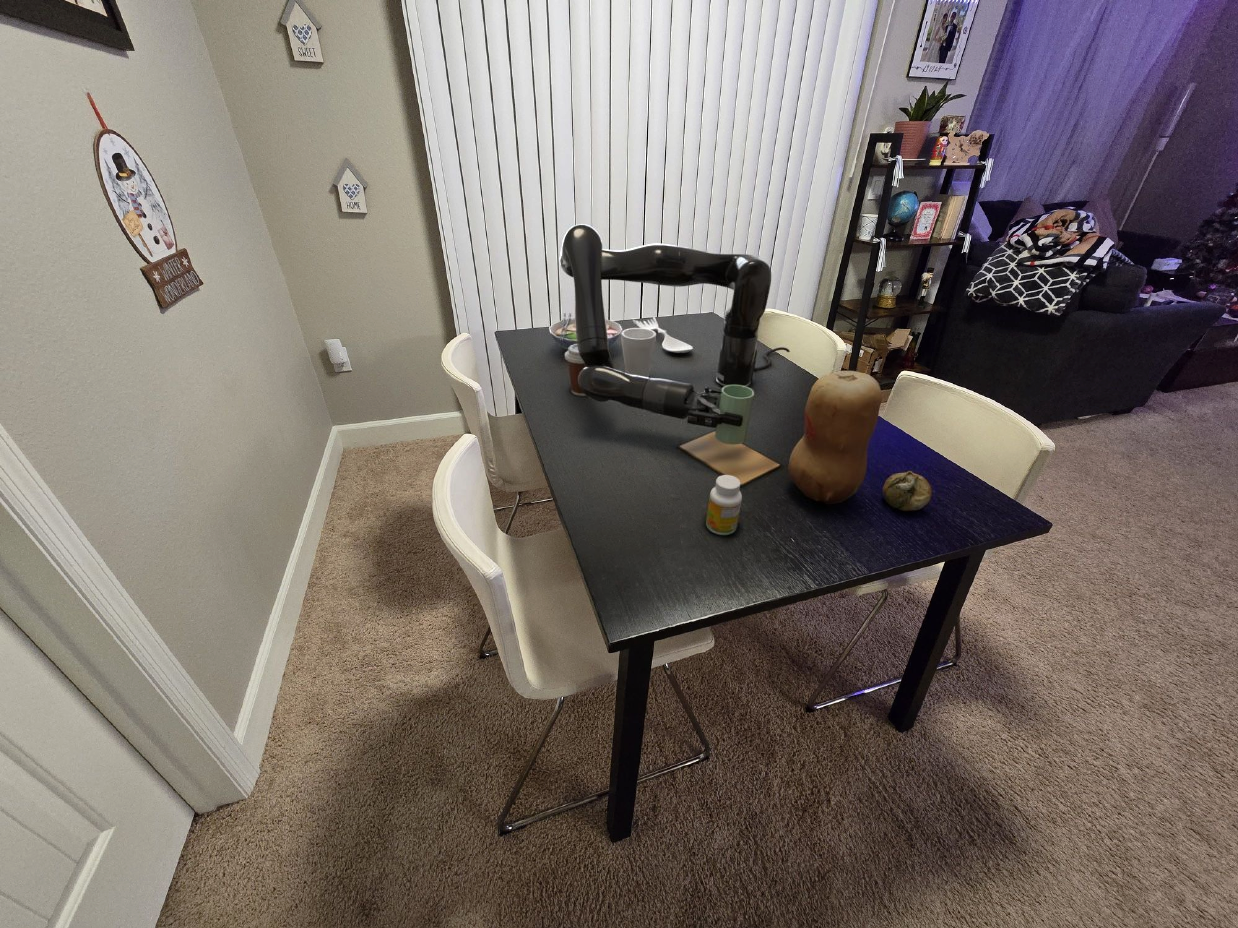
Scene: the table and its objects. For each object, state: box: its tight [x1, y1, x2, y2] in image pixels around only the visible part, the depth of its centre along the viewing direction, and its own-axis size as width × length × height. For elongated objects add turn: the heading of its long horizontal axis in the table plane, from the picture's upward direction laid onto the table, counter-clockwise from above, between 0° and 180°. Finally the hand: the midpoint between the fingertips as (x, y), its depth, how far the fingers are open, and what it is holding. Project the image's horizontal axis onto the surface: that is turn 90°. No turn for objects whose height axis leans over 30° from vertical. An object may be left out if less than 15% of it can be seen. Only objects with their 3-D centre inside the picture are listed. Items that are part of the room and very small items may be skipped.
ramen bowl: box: [548, 312, 623, 351], centre depth 157 cm, size 25×23×8 cm
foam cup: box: [620, 327, 657, 377], centre depth 139 cm, size 10×9×13 cm
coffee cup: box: [564, 344, 588, 397], centre depth 132 cm, size 9×9×12 cm
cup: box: [715, 385, 755, 445], centre depth 102 cm, size 6×6×10 cm
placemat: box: [678, 430, 781, 487], centre depth 108 cm, size 18×12×1 cm, turn 37°
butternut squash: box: [787, 370, 883, 505], centre depth 90 cm, size 14×13×25 cm
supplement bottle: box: [705, 474, 743, 536], centre depth 86 cm, size 5×5×10 cm
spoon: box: [632, 316, 694, 354], centre depth 167 cm, size 9×32×4 cm, turn 22°
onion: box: [882, 470, 933, 512], centre depth 92 cm, size 8×8×8 cm
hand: (745, 413), depth 101 cm, fingers closed on cup, 6 cm apart
